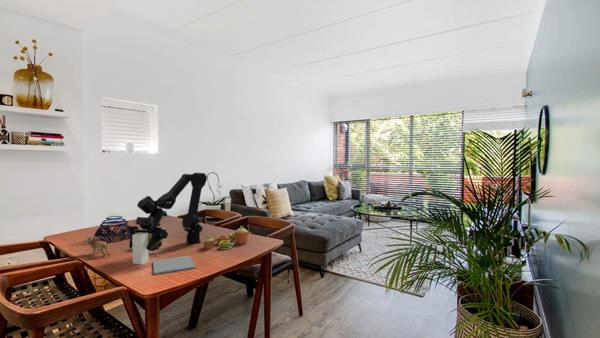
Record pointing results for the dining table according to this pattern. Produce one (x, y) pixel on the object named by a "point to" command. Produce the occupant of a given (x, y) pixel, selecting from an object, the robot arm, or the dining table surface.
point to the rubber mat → (173, 264)
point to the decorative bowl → (107, 229)
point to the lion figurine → (97, 245)
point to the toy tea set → (228, 239)
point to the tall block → (140, 248)
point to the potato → (154, 244)
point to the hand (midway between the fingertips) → (138, 248)
